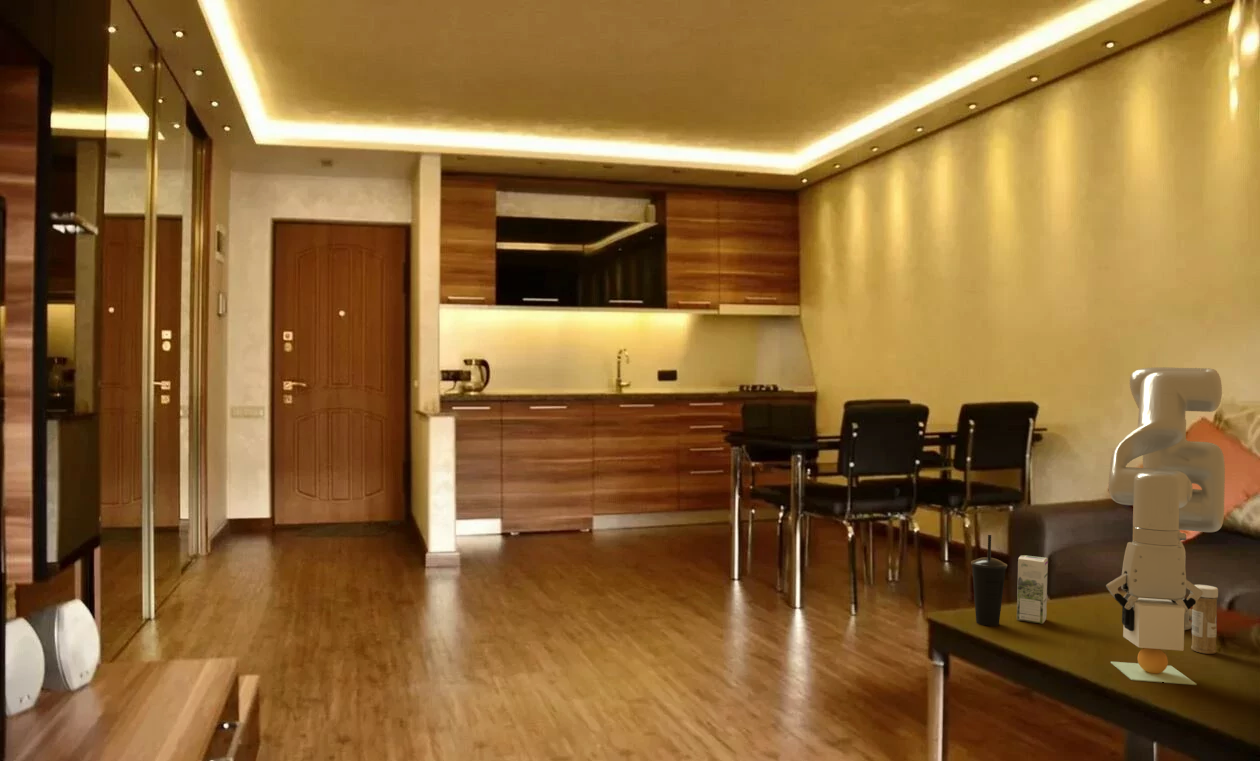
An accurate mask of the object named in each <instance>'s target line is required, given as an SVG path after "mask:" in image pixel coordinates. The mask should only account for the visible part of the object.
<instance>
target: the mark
mask: <svg viewBox="0 0 1260 761" xmlns="http://www.w3.org/2000/svg"><path fill="white" fill-rule="evenodd" d="M1110 664H1111V665H1113V666H1114V667H1116V669H1117V670H1118V671H1120V672H1121V673H1122V674H1123V675H1125V676H1126V677H1127V678H1128V679H1129V680H1131V681H1136V682H1149V683H1150V682H1151V683H1162V682H1164V684H1175V685H1176V684H1177V685H1191V686H1197V683H1196V682H1194V681H1193V680H1192V679H1191V678H1189V677H1187V676H1186V675H1185V674H1184V673H1182V672H1180V671H1179V670H1177V668H1175V667H1173V666H1172V665H1167V668H1166V669H1165V670H1164V671H1163V672H1161V673H1158V674H1153V673H1148V672H1146V671H1145V670H1143V669H1142V668H1141V667H1140V665H1139V663H1138V662H1137V663H1136V662H1125V661H1123V662H1122V661H1121V662H1120V661H1110Z"/></svg>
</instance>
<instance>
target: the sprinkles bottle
mask: <svg viewBox="0 0 1260 761" xmlns="http://www.w3.org/2000/svg"><path fill="white" fill-rule="evenodd" d="M1194 585H1195V586H1196V587H1197V588H1199V589H1200V590H1201V591H1202V592H1203V594H1202V596H1201V597H1200V598H1199V599H1198V600H1197V601H1196V603H1195V605H1193V606H1192V608H1191V609H1192V620H1191V623H1192V628H1191V637H1192V638H1191V646H1190V649H1191V651H1194V652H1197V653H1200V654H1206V655H1213V654H1216V653H1217V632H1218V631H1217V622H1218V621H1217V619H1218V618H1217V616H1218V615H1217V603H1218V601H1217V600H1218V597H1219V589H1218V587H1216V586H1213V585H1207V584H1194Z"/></svg>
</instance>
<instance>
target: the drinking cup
mask: <svg viewBox="0 0 1260 761" xmlns="http://www.w3.org/2000/svg"><path fill="white" fill-rule="evenodd" d="M991 555H992V535H991V534H988V535H987V556H986V557H985V556H984V557H980V558H976V559H973V560H971V561H970V564H971V567H972V578H973V593H974V594H973V595H974V610H975V622H976V624H979V625H982V626H987V627H997V626H999V625H1000V621H1001V620H1000V617H1001V610H1002V602H1003V593H1004V586H1005V577H1006V570H1007V568H1008V564H1007V563H1005V562H1003V561H1002V560H999V559H997V558H994V557H992V556H991Z"/></svg>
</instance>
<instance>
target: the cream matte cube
mask: <svg viewBox="0 0 1260 761" xmlns="http://www.w3.org/2000/svg"><path fill="white" fill-rule="evenodd" d="M1132 609H1133V610H1134V612H1135V613H1134V630H1133V631H1129V630H1128V629H1126V628H1125V627H1124V625H1123V624H1122V625H1123V627H1122V628H1123V632H1122V637H1123V638H1124V639H1126V640H1128V641H1129V642H1130V643H1132V644H1133V645H1135V646H1136V647H1137V648H1140V649H1143V648H1153V649H1161V650H1169V651H1184V649H1185V647H1184V646H1185V630H1184V617H1185V608H1183V607H1181V606H1179V605H1177V604H1176V603H1173V602H1171V601H1170V600H1166V599H1150V598H1138V600H1137V601H1136V602H1135V603H1134V605H1133V607H1132Z"/></svg>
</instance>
